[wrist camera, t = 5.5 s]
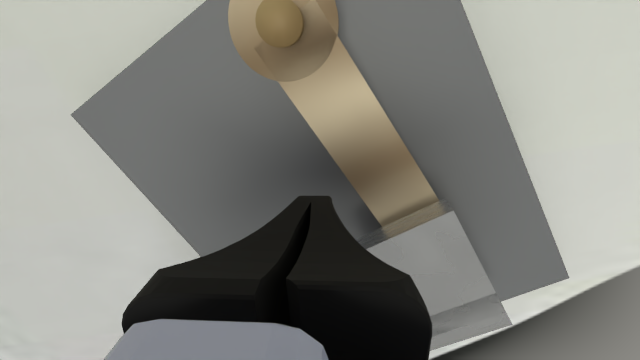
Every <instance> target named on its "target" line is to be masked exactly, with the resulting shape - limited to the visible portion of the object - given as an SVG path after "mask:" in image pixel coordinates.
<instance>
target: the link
mask: <svg viewBox="0 0 640 360" xmlns="http://www.w3.org/2000/svg"><path fill="white" fill-rule="evenodd" d="M228 23H229V30H230V34H231V38H232V41H233V43H234V46H235V48H236V50H237V52H238V53H239V55H240V56H241V58H242V59H243V60H244V62H245V63H246V64H247V65H248V66H249V67H250V68H251V69H252V70H254V71H255V72H257V73H258V74H260V75H262V76H263V77H266V78H268V79H271V80H275V81H278V83H279V84H280V85H281V87H282V88H283V90H284V91H285V92H286V94H287V95H288V96H289V98H290V99H291V101H292V102H293V103H294V105H295V106H296V108H297V109H298V110H299V112H300V113H301V115H302V116H303V117H304V119H305V120H306V122H307V123H308V124H309V126H310V127H311V129H312V130H313V131H314V133H315V134H316V135H317V137H318V138H319V140H320V141H321V142H322V144H323V145H324V147H325V148H326V149H327V151H328V152H329V154H330V155H331V156H332V158H333V159H334V161H335V162H336V163H337V165H338V166H339V167H340V169H341V170H342V172H343V173H344V174H345V176H346V177H347V179H348V180H349V181H350V183H351V184H352V186H353V187H354V188H355V190H356V191H357V193H358V194H359V195H360V197H361V198H362V199H363V201H364V202H365V204H366V205H367V206H368V208H369V209H370V211H371V212H372V213H373V215H374V216H375V218H376V219H377V220H378V222H379V223H380V225H381V226H382V227H384V226H386V225H388V224H390V223H392V222H394V221H397V220H399V219H401V218H403V217H405V216H407V215H410V214H412V213H414V212H416V211H418V210H421V209H423V208H425V207H427V206H429V205H431V204H434V203H436V202H438V201H439V199H438V198H437V196H436V194H435V193H434V191H433V190H432V188H431V186H430V185H429V183H428V181H427V180H426V178H425V177H424V175H423V173H422V172H421V170H420V168H419V167H418V165H417V164H416V162H415V160H414V159H413V157H412V156H411V154H410V152H409V151H408V149H407V147H406V146H405V144H404V143H403V141H402V139H401V138H400V136H399V134H398V133H397V131H396V130H395V128H394V126H393V125H392V123H391V122H390V120H389V118H388V117H387V115H386V113H385V112H384V110H383V109H382V107H381V105H380V104H379V102H378V100H377V99H376V97H375V96H374V94H373V92H372V91H371V89H370V88H369V86H368V84H367V83H366V81H365V79H364V78H363V76H362V75H361V73H360V71H359V70H358V68H357V66H356V65H355V63H354V62H353V60H352V58H351V57H350V55H349V54H348V52H347V50H346V49H345V47H344V45H343V44H342V42H341V41H340V39H339V37H338V31H339V18H338V11H337V7H336V2H335V0H230V2H229V9H228Z"/></svg>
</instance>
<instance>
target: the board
mask: <svg viewBox="0 0 640 360" xmlns="http://www.w3.org/2000/svg"><path fill="white" fill-rule="evenodd" d="M229 2H230V0H206V1H205V2H204V3H203V4H202V5H201V6H199V7H198V8H197V9H196V10H195V11H193V12H192V13H191V14H190V15H189V16H187V17H186V18H185V19H184V20H183V21H181V22H180V23H179V24H178V25H177V26H176V27H174V28H173V29H172V30H171V31H170V32H168V33H167V34H166V35H165V36H164V37H162V38H161V39H160V40H159V41H158V42H157V43H155V44H154V45H153V46H152V47H151V48H149V49H148V50H147V51H146V52H145V53H143V54H142V55H141V56H140V57H139V58H137V59H136V60H135V61H134V62H133V63H132V64H130V65H129V66H128V67H127V68H126V69H124V70H123V71H122V72H121V73H120V74H118V75H117V76H116V77H115V78H114V79H113V80H111V81H110V82H109V83H108V84H107V85H105V86H104V87H103V88H102V89H101V90H99V91H98V92H97V93H96V94H95V95H93V96H92V97H91V98H90V99H89V100H88V101H86V102H85V103H84V104H83V105H82V106H80V107H79V108H78V109H77V110H76V111H74V112H73V113H72V114H71V116H72V117H73V118H74V119H75V120H76V121H77V122H78V123H79V124H80V126H81V127H82V128H83V129H84V130H85V131H86V132H87V133H88V134H89V135H90V136H91V137H92V139H93V140H94V141H95V142H96V143H97V144H98V145H99V146H100V147H101V148H102V149H103V151H104V152H105V153H106V154H107V155H108V156H109V157H110V158H111V159H112V160H113V161H114V163H115V164H116V165H117V166H118V167H119V168H120V169H121V170H122V171H123V172H124V173H125V175H126V176H127V177H128V178H129V179H130V180H131V181H132V182H133V183H134V184H135V185H136V187H137V188H138V189H139V190H140V191H141V192H142V193H143V194H144V195H145V196H146V197H147V198H148V200H149V201H150V202H151V203H152V204H153V205H154V206H155V207H156V208H157V209H158V210H159V212H160V213H161V214H162V215H163V216H164V217H165V218H166V219H167V220H168V221H169V222H170V224H171V225H172V226H173V227H174V228H175V229H176V230H177V231H178V232H179V233H180V234H181V236H182V237H183V238H184V239H185V240H186V241H187V242H188V243H189V244H190V245H191V246H192V248H193V249H194V250H195V251H196V252H197V253H198V254H199V255H200V256H201V257H203V256H206V255H208V254H211V253H213V252H216V251H218V250H221V249H223V248H225V247H227V246H229V245H231V244H233V243H235V242H238V241H240V240H242V239H243V238H245V237H247V236H249V235H250V234H252V233H254V232H255V231H257V230H258V229H260V228H261V227H263V226H264V225H265V224H267V223H268V222H269V221H271V220H272V219H273V218H274V217H276V216H277V215H278V214H279V213H281V212H282V211H283V210H284V209H285V208H286V207H287V206H288V205H289V204H291V203H292V202H293V201H294V200H295V199H296V198H297V197H298V196H330V197H331V198H332V203H333V206H334V209H335V211H336V213H337V215H338V216H339V218H340V220H341V221H342V223H343V224H344V226H345V227H346V229H347V230H348V231H349V233H350V234H351V235H352V236H353V237H354V238H355V239H357V238H360V237H362V236H364V235H366V234H368V233H371V232H373V231H375V230H377V229H379V228H381V227H382V226H381V225H380V223H379V222H378V220H377V219H376V218H375V216H374V215H373V213H372V212H371V211H370V209H369V208H368V206H367V205H366V204H365V202H364V201H363V199H362V198H361V197H360V195H359V194H358V193H357V191H356V190H355V188H354V187H353V186H352V184H351V183H350V181H349V180H348V179H347V177H346V176H345V174H344V173H343V172H342V170H341V169H340V167H339V166H338V165H337V163H336V162H335V161H334V159H333V158H332V156H331V155H330V154H329V152H328V151H327V149H326V148H325V147H324V145H323V144H322V142H321V141H320V140H319V138H318V137H317V135H316V134H315V133H314V131H313V130H312V129H311V127H310V126H309V124H308V123H307V122H306V120H305V119H304V117H303V116H302V115H301V113H300V112H299V110H298V109H297V108H296V106H295V105H294V103H293V102H292V101H291V99H290V98H289V96H288V95H287V94H286V92H285V91H284V90H283V88H282V87H281V85H280V84H279V83H278V81H275V80H271V79H268V78H266V77H263V76H262V75H260V74H258V73H257V72H255V71H254V70H252V69H251V68H250V67H249V66H248V65H247V64H246V63H245V62H244V60H243V59H242V58H241V56H240V55H239V53H238V52H237V50H236V48H235V46H234V43H233V41H232V38H231V34H230V30H229V23H228V9H229ZM335 2H336V7H337V11H338V18H339V31H338V37H339V39H340V41H341V42H342V44H343V45H344V47H345V49H346V50H347V52H348V54H349V55H350V57H351V58H352V60H353V62H354V63H355V65H356V66H357V68H358V70H359V71H360V73H361V75H362V76H363V78H364V79H365V81H366V83H367V84H368V86H369V88H370V89H371V91H372V92H373V94H374V96H375V97H376V99H377V100H378V102H379V104H380V105H381V107H382V109H383V110H384V112H385V113H386V115H387V117H388V118H389V120H390V122H391V123H392V125H393V126H394V128H395V130H396V131H397V133H398V134H399V136H400V138H401V139H402V141H403V143H404V144H405V146H406V147H407V149H408V151H409V152H410V154H411V156H412V157H413V159H414V160H415V162H416V164H417V165H418V167H419V168H420V170H421V172H422V173H423V175H424V177H425V178H426V180H427V181H428V183H429V185H430V186H431V188H432V190H433V191H434V193H435V194H436V196H437V198H438V199H439V201H440V200H442V199H444V198H446V200H447V201H448V203H449V204H450V206H451V207H452V209H453V210H454V212H455V214H456V216H457V218H458V220H459V222H460V224H461V226H462V228H463V230H464V232H465V234H466V236H467V238H468V239H469V241H470V243H471V245H472V247H473V249H474V251H475V253H476V255H477V257H478V259H479V261H480V263H481V265H482V267H483V269H484V271H485V273H486V274H487V276H488V278H489V280H490V282H491V284H492V286H493V288H494V290H495V292H496V294H497V296H498V298H499V300H500V302H501V301H504V300H507V299H510V298H512V297H515V296H518V295H521V294H524V293H527V292H530V291H533V290H536V289H539V288H542V287H545V286H547V285H550V284H553V283H556V282H559V281H562V280H565V279H568V278H569V276H568V273H567V271H566V268H565V266H564V263H563V261H562V258H561V255H560V253H559V250H558V248H557V245H556V243H555V240H554V238H553V235H552V232H551V230H550V227H549V225H548V222H547V220H546V217H545V215H544V212H543V210H542V207H541V204H540V202H539V199H538V197H537V194H536V192H535V189H534V187H533V184H532V181H531V179H530V176H529V174H528V171H527V169H526V166H525V164H524V161H523V158H522V156H521V153H520V151H519V148H518V146H517V143H516V141H515V138H514V136H513V133H512V130H511V128H510V125H509V123H508V120H507V118H506V115H505V113H504V110H503V107H502V105H501V102H500V100H499V97H498V95H497V92H496V90H495V87H494V84H493V82H492V79H491V77H490V74H489V72H488V69H487V67H486V64H485V62H484V59H483V56H482V54H481V51H480V49H479V46H478V44H477V41H476V39H475V36H474V33H473V31H472V28H471V26H470V23H469V21H468V18H467V16H466V13H465V11H464V8H463V5H462V3H461V0H335Z"/></svg>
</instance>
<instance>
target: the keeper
mask: <svg viewBox="0 0 640 360" xmlns="http://www.w3.org/2000/svg"><path fill="white" fill-rule="evenodd" d="M356 241H357V242H358V243H359V244H360V245H361V246H363V247H364V248H365V249H366V250H367V251H369V252H370V253H371V254H373V255H374V256H375V257H377V258H378V259H380V260H382V261H383V262H385V263H386V264H388V265H390V266H392V267H394V268H396V269H398V270H400V271H402V272H404V273H406V274H408V275H410V276H411V278H412V280H413V281H414V283H415V285H416V287H417V289H418V290H419V292H420V294H421V296H422V298H423V300H424V302H425V305H426V307H427V309H428V312H429V315H430V318H431V322H432V339H431V345H430V351H431V350H434V349H437V348H440V347H444V346H447V345H450V344H453V343H456V342H459V341H462V340H465V339H469V338H472V337H475V336H478V335H481V334H484V333H487V332H491V331H494V330H497V329H500V328H503V327H506V326H509V325H512V323H511V321H510V319H509V317H508V315H507V313H506V311H505V310H504V308H503V306H502V304H501V302H500V300H499V298H498V296H497V294H496V292H495V290H494V288H493V286H492V284H491V282H490V280H489V278H488V276H487V274H486V273H485V271H484V269H483V267H482V265H481V263H480V261H479V259H478V257H477V255H476V253H475V251H474V249H473V247H472V245H471V243H470V241H469V239H468V238H467V236H466V234H465V232H464V230H463V228H462V226H461V224H460V222H459V220H458V218H457V216H456V214H455V212H454V210H453V209H452V207H451V206H450V204H449V203H448V201H447V200H446V198H444V199H442V200H440V201H438V202H436V203H434V204H431V205H429V206H427V207H425V208H423V209H421V210H418V211H416V212H414V213H412V214H410V215H407V216H405V217H403V218H401V219H399V220H397V221H394V222H392V223H390V224H388V225H386V226H384V227H381V228H379V229H377V230H375V231H373V232H371V233H368V234H366V235H364V236H362V237H360V238H357V239H356Z"/></svg>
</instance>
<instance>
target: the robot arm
mask: <svg viewBox="0 0 640 360" xmlns="http://www.w3.org/2000/svg"><path fill="white" fill-rule="evenodd" d="M122 327H123V332H124V335H123V336H122V337H121V338H120V339H119V340H118V342H117V343H116V344H115V346H114V347H113V348H112V349H111V351H110V352H109V353H108V355H107V356H106V357H105V359H104V360H428V358H429V352H430V345H431V339H432V322H431V318H430V315H429V312H428V309H427V307H426V305H425V302H424V300H423V298H422V296H421V294H420V292H419V290H418V289H417V287H416V285H415V283H414V281H413V280H412V278H411V276H410V275H408V274H406V273H404V272H402V271H400V270H398V269H396V268H394V267H392V266H390V265H388V264H386V263H385V262H383V261H382V260H380V259H378V258H377V257H375V256H374V255H373V254H371V253H370V252H369V251H367V250H366V249H365V248H364V247H363V246H361V245H360V244H359V243H358V242H357V241H356V239H355V238H354V237H353V236H352V235H351V234H350V233H349V231H348V230H347V229H346V227H345V226H344V224H343V223H342V221H341V220H340V218H339V216H338V215H337V213H336V211H335V209H334V206H333V203H332V198H331V197H330V196H298V197H297V198H296V199H295V200H294V201H293V202H292V203H291V204H289V205H288V206H287V207H286V208H285V209H284V210H283V211H282V212H281V213H279V214H278V215H277V216H276V217H274V218H273V219H272V220H271V221H269V222H268V223H267V224H265V225H264V226H263V227H261V228H260V229H258V230H257V231H255V232H254V233H252V234H250V235H249V236H247V237H245V238H243V239H242V240H240V241H238V242H235V243H233V244H231V245H229V246H227V247H225V248H223V249H221V250H218V251H216V252H213V253H211V254H208V255H206V256H203V257H200V258H197V259H194V260H191V261H188V262H184V263H181V264H177V265H174V266H170V267H166V268H162V269H159V270H158V271H157V272H156V273H155V274H154V275H153V277H152V278H151V279H150V280H149V281H148V283H147V284H146V285H145V286H144V287H143V288H142V290H141V291H140V292H139V293H138V294H137V296H136V297H135V298H134V299H133V300H132V301H131V303H130V304H129V305H128V307H127V308H126V310H125V312H124V313H123V318H122Z"/></svg>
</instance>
